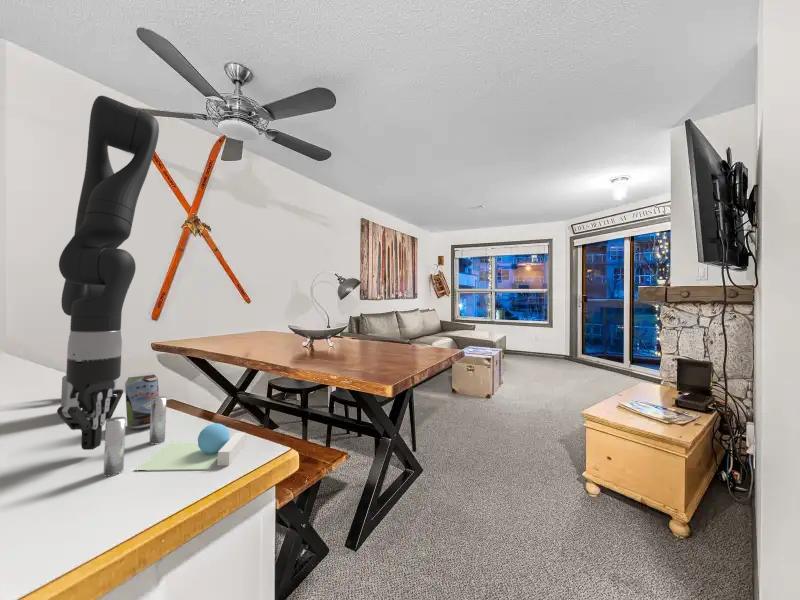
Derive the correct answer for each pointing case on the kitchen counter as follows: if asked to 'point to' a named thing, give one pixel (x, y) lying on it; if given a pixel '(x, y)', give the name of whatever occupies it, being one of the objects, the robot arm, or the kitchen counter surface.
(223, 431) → the ball
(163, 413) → the post
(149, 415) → the beverage can
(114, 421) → the post
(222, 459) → the stopper wall
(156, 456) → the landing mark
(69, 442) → the kitchen counter surface
